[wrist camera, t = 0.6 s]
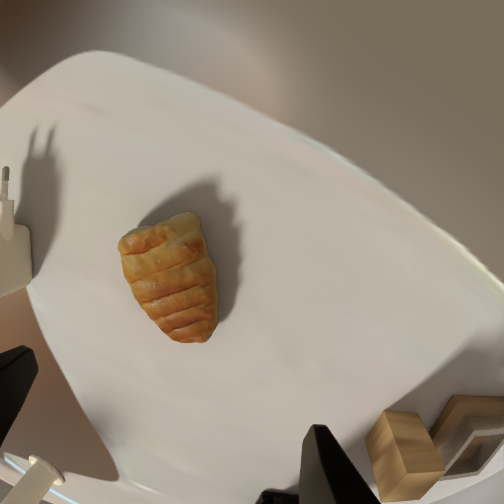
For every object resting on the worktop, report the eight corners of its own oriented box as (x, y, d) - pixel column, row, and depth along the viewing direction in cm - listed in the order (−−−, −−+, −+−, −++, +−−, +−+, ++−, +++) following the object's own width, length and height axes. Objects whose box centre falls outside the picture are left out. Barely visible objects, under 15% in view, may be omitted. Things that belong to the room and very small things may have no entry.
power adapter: (9, 168, 22) (-34, 168, 17) (38, 166, 22) (-8, 165, 16) (10, 277, 24) (-29, 292, 19) (39, 285, 24) (-3, 304, 18)
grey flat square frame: (470, 462, 22) (477, 474, 20) (426, 466, 23) (432, 481, 20) (506, 414, 21) (515, 426, 18) (464, 415, 21) (473, 430, 19)
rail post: (398, 442, 24) (419, 499, 16) (365, 440, 24) (380, 502, 16) (417, 413, 23) (446, 470, 15) (383, 410, 23) (407, 473, 15)
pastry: (242, 323, 23) (235, 347, 19) (165, 342, 24) (148, 366, 20) (198, 203, 21) (180, 206, 18) (121, 234, 22) (94, 242, 19)
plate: (470, 463, 24) (474, 469, 23) (400, 469, 24) (403, 476, 23) (518, 396, 22) (523, 401, 20) (452, 394, 22) (457, 401, 21)
